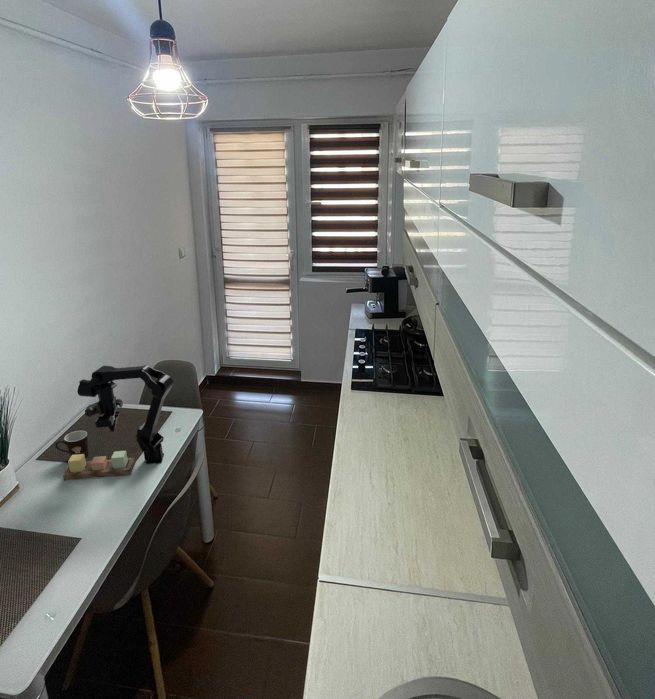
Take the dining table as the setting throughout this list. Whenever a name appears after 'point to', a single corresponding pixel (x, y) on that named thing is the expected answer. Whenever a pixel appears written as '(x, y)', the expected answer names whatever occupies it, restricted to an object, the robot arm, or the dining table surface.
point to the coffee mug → (76, 443)
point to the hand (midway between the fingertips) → (112, 431)
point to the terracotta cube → (99, 463)
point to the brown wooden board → (100, 471)
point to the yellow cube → (77, 463)
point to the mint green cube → (119, 459)
